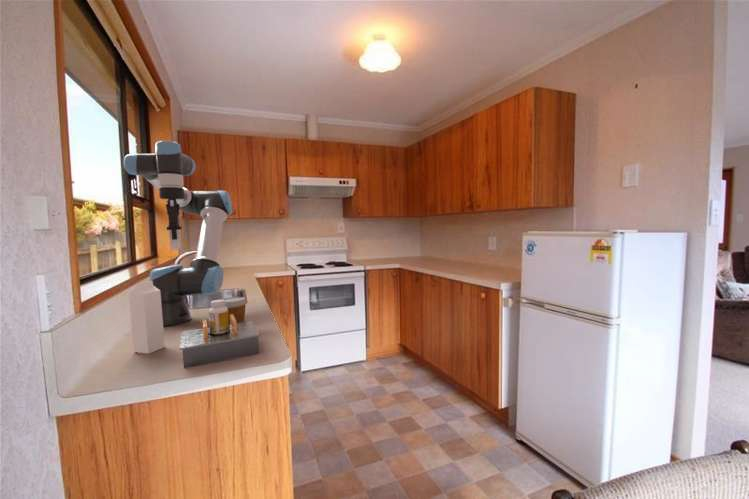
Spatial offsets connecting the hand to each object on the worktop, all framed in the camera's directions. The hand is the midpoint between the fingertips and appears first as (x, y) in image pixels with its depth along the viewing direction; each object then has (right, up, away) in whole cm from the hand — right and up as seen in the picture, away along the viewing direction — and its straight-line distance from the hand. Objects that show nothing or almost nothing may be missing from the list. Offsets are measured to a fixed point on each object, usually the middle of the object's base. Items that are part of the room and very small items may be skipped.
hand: (176, 248), depth 120 cm
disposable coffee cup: (+18, -31, +6) cm, 36 cm away
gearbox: (+22, -32, -14) cm, 42 cm away
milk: (-2, -33, -11) cm, 35 cm away
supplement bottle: (+22, -26, -15) cm, 37 cm away
